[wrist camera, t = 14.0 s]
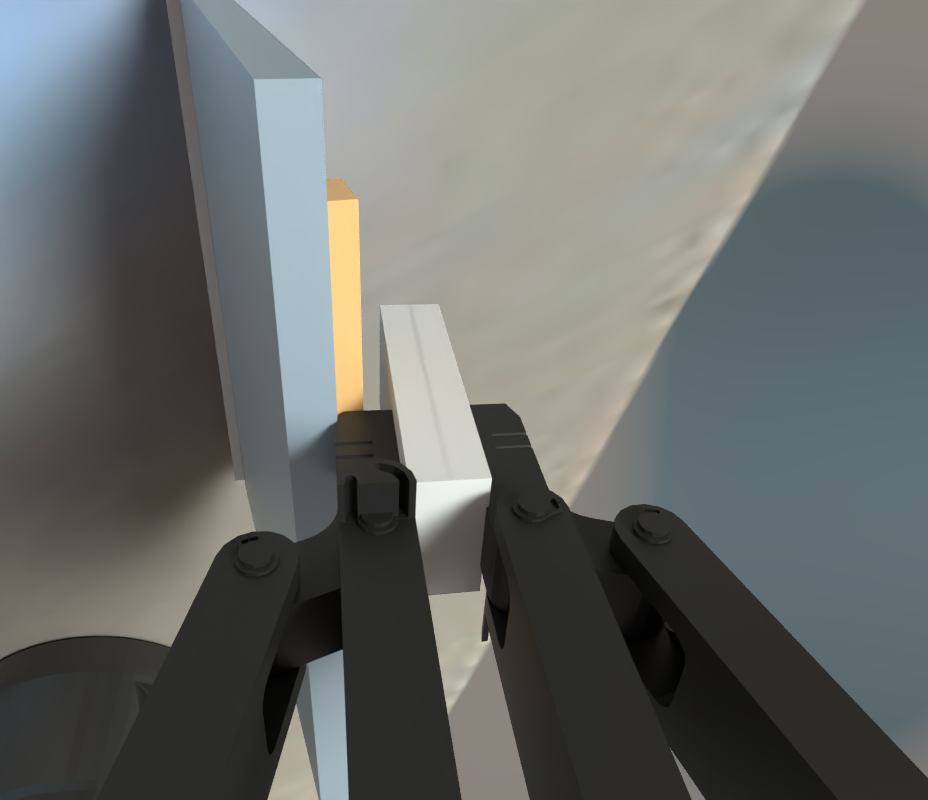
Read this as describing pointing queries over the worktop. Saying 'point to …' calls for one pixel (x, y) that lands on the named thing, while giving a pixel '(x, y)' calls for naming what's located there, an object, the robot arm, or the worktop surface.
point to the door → (281, 300)
